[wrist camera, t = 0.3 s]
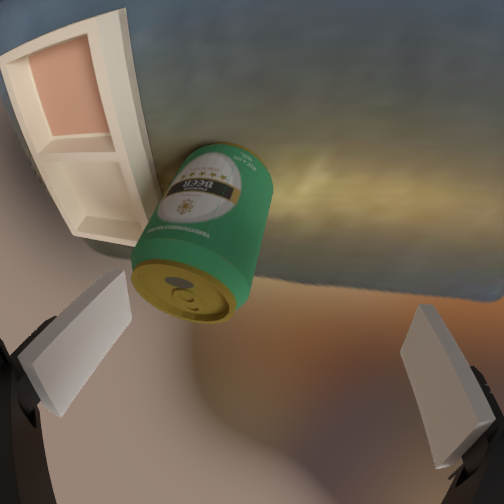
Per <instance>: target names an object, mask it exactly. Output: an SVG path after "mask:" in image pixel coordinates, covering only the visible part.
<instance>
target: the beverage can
mask: <svg viewBox="0 0 504 504" xmlns="http://www.w3.org/2000/svg"><path fill="white" fill-rule="evenodd" d="M272 195H273V183H272V179H271V176H270V174H269V172H268V171H267V168H266V166H265V165H264V163H263V162H262V161H261V159H260V158H259V157H258V156H257V155H256V154H254V153H253V152H252V151H250V150H249V149H247V148H245V147H243V146H240V145H237V144H232V143H223V142H222V143H214V144H210V145H207V146H204V147H201V148H199V149H197V150H195V151H194V152H192V153H191V154H190V155H189V156H188V157H187V158H186V160H185V161H184V163H183V164H182V166H181V167H180V169H179V171H178V172H177V174H176V175H175V177H174V179H173V180H172V182H171V184H170V185H169V187H168V189H167V190H166V192H165V194H164V195H163V197H162V199H161V200H160V202H159V204H158V206H157V207H156V209H155V211H154V213H153V214H152V216H151V218H150V220H149V222H148V223H147V225H146V227H145V229H144V231H143V232H142V234H141V236H140V238H139V240H138V242H137V244H136V246H135V247H134V249H133V251H132V255H131V262H132V269H133V273H132V276H131V280H132V283H133V286H134V288H135V289H136V291H137V292H138V293H139V294H140V295H141V296H142V297H143V298H144V299H145V300H146V301H147V302H149V303H150V304H151V305H153V306H154V307H156V308H158V309H159V310H161V311H163V312H165V313H167V314H170V315H172V316H175V317H177V318H180V319H183V320H187V321H191V322H197V323H204V324H215V323H221V322H225V321H227V320H229V319H230V318H232V317H233V315H234V313H235V311H236V310H237V309H238V308H239V307H240V306H242V305H243V304H244V303H245V302H246V300H247V299H248V297H249V293H250V289H251V285H252V280H253V276H254V272H255V268H256V263H257V259H258V255H259V251H260V246H261V242H262V238H263V234H264V229H265V225H266V221H267V216H268V212H269V208H270V203H271V199H272Z"/></svg>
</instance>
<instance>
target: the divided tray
mask: <svg viewBox="0 0 504 504" xmlns="http://www.w3.org/2000/svg"><path fill="white" fill-rule="evenodd" d="M0 68H1V72H2V75H3V79H4V82H5V85H6V88H7V91H8V94H9V97H10V100H11V103H12V106H13V109H14V112H15V114H16V117H17V120H18V122H19V125H20V128H21V130H22V133H23V135H24V138H25V140H26V142H27V145H28V147H29V149H30V152H31V154H32V156H33V159H34V161H35V163H36V165H37V167H38V169H39V172H40V174H41V176H42V178H43V180H44V182H45V184H46V186H47V188H48V190H49V192H50V194H51V196H52V198H53V200H54V202H55V204H56V205H57V207H58V209H59V211H60V213H61V215H62V216H63V218H64V220H65V221H66V224H67V225H68V227H69V229H70V231H71V232H72V234H73V235H74V236H79V237H84V238H90V239H95V240H101V241H106V242H112V243H117V244H123V245H128V246H134V247H135V246H136V244H137V242H138V240H139V238H140V236H141V234H142V232H143V231H144V229H145V227H146V225H147V223H148V222H149V220H150V218H151V216H152V214H153V213H154V211H155V209H156V207H157V206H158V204H159V202H160V200H161V199H162V193H161V189H160V185H159V182H158V178H157V173H156V169H155V165H154V161H153V157H152V152H151V148H150V144H149V139H148V135H147V130H146V125H145V121H144V116H143V111H142V106H141V101H140V96H139V90H138V85H137V80H136V74H135V68H134V62H133V56H132V50H131V43H130V36H129V29H128V21H127V14H126V8H122V9H118V10H114V11H110V12H107V13H103V14H100V15H96V16H93V17H90V18H86V19H83V20H80V21H77V22H74V23H72V24H69V25H66V26H63V27H61V28H58V29H56V30H53V31H51V32H48V33H46V34H43V35H41V36H39V37H36V38H34V39H32V40H30V41H28V42H26V43H23V44H22V45H20V46H18V47H16V48H14V49H12V50H10V51H9V52H7V53H5V54H3V55H2V56H0Z"/></svg>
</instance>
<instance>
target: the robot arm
mask: <svg viewBox="0 0 504 504" xmlns="http://www.w3.org/2000/svg"><path fill="white" fill-rule="evenodd" d="M131 321H132V316H131V310H130V304H129V298H128V292H127V284H126V277H125V271H124V270H121V269H114V268H110V269H109V270H108V271H107V272H106V273H105V274H103V275H102V276H101V277H100V278H99V279H98V280H96V282H94V283H93V284H92V285H91V286H90V287H89V288H87V289H86V290H85V291H84V292H83V293H82V294H81V295H80V296H79V297H78V298H77V299H75V300H74V301H73V302H72V303H71V304H70V305H69V306H68V307H67V308H66V309H65V310H64V311H63V312H62V313H60V314H59V315H58V316H54V317H52V318H50V319H48V320H46V321H45V322H44V323H43V324H41V325H40V326H39V327H38V328H37V330H35V331H34V332H33V333H32V334H31V336H29V337H28V338H27V339H26V340H25V341H24V342H23V343H22V344H21V345H20V346H19V347H18V348H17V349H16V350H15V351H14V352H13V353H12V354H11V355H10V356H9V354H8V352H7V349H6V347H5V345H4V343H3V341H2V340H1V339H0V504H57V503H56V500H55V496H54V492H53V489H52V484H51V480H50V475H49V471H48V466H47V461H46V455H45V450H44V444H43V437H42V429H41V421H40V412H39V409H38V407H37V404H38V403H39V402H40V400H41V402H42V403H43V405H44V407H45V408H46V410H47V411H49V412H51V413H53V414H55V415H57V416H59V417H62V416H63V414H64V413H65V411H66V410H67V408H68V407H69V405H70V404H71V403H72V401H73V400H74V398H75V397H76V395H77V394H78V392H79V391H80V390H81V388H82V387H83V386H84V384H85V383H86V381H87V380H88V378H89V377H90V376H91V374H92V373H93V371H94V370H95V369H96V367H97V366H98V364H99V363H100V362H101V361H102V359H103V358H104V356H105V355H106V354H107V352H108V351H109V350H110V348H111V347H112V346H113V344H114V343H115V342H116V340H117V339H118V338H119V336H120V335H121V334H122V332H123V331H124V330H125V328H126V327H127V326H128V324H129V323H130V322H131ZM400 354H401V357H402V359H403V362H404V364H405V368H406V371H407V373H408V376H409V379H410V382H411V385H412V388H413V391H414V394H415V397H416V400H417V403H418V407H419V409H420V413H421V416H422V420H423V423H424V426H425V430H426V433H427V437H428V441H429V444H430V448H431V452H432V456H433V460H434V464H435V468H436V469H438V468H444V467H448V466H452V465H453V464H455V463H456V462H457V461H458V460H459V459H460V458H461V457H462V459H463V464H462V465H461V466H460V467H459V468H458V469H457V470H456V471H455V472H454V473H452V474H451V475H450V476H449V478H448V479H449V480H450V479H451V478H453V477H454V476H455V475H456V476H455V478H454V480H453V482H452V484H451V486H450V488H449V490H448V492H447V494H446V496H445V498H444V499H443V501H442V503H441V504H504V416H503V414H502V412H501V410H500V408H499V406H498V404H497V402H496V400H495V398H494V396H493V394H492V393H491V390H490V388H489V386H487V382H486V381H485V379H484V377H483V375H482V374H481V373H480V372H479V371H478V370H477V369H476V368H475V367H474V366H469V364H468V363H467V361H466V359H465V357H464V355H463V354H462V352H461V350H460V348H459V347H458V345H457V343H456V342H455V340H454V338H453V336H452V335H451V333H450V331H449V330H448V328H447V326H446V325H445V323H444V322H443V320H442V318H441V317H440V315H439V314H438V312H437V311H436V309H435V308H434V306H433V305H427V304H419V305H418V308H417V310H416V313H415V316H414V318H413V321H412V324H411V326H410V329H409V331H408V334H407V336H406V339H405V341H404V343H403V346H402V348H401V351H400Z"/></svg>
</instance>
